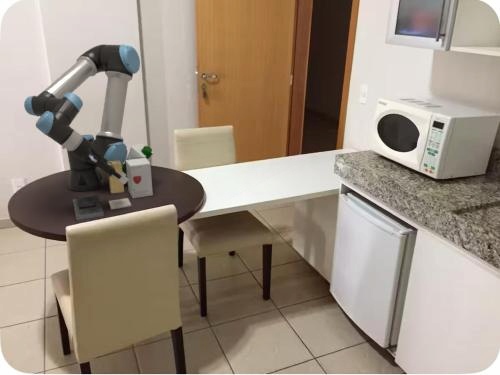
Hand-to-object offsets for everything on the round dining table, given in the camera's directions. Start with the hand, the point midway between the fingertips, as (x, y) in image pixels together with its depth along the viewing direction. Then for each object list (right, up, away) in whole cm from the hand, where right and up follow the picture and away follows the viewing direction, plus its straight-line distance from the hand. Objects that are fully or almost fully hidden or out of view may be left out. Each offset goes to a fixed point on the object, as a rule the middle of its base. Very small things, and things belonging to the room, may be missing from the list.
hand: (125, 179), depth 173 cm
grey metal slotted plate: (-14, -12, -2) cm, 19 cm away
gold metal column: (-3, -5, 0) cm, 6 cm away
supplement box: (+3, -6, +14) cm, 16 cm away
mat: (-3, -10, +3) cm, 11 cm away
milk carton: (-6, +1, +26) cm, 27 cm away
